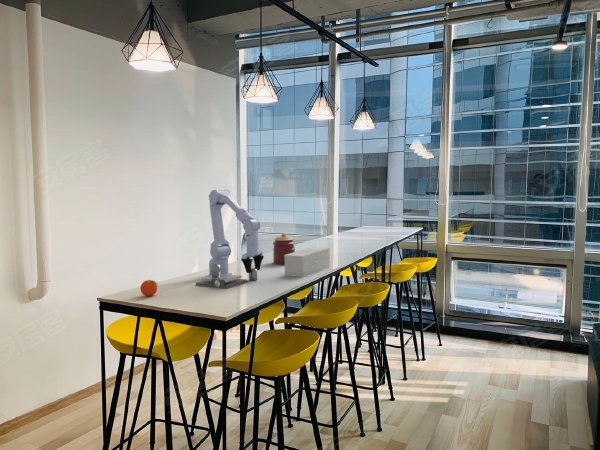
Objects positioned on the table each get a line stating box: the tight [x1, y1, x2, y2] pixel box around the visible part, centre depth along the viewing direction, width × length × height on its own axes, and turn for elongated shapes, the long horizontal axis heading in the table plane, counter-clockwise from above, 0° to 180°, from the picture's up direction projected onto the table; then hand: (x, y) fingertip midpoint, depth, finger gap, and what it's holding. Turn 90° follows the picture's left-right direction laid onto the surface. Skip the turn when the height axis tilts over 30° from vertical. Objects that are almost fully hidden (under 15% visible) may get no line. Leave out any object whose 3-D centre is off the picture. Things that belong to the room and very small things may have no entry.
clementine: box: [139, 279, 159, 297], centre depth 202 cm, size 8×7×7 cm
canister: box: [272, 232, 296, 265], centre depth 280 cm, size 13×13×18 cm
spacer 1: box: [211, 264, 220, 277], centre depth 226 cm, size 4×4×6 cm
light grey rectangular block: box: [284, 246, 331, 278], centre depth 254 cm, size 32×11×11 cm, turn 152°
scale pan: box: [201, 274, 242, 283], centre depth 225 cm, size 14×12×2 cm
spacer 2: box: [248, 267, 258, 282], centre depth 232 cm, size 4×4×6 cm
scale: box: [195, 278, 248, 290], centre depth 225 cm, size 18×16×4 cm
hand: (253, 271), depth 232 cm, fingers open, 7 cm apart
